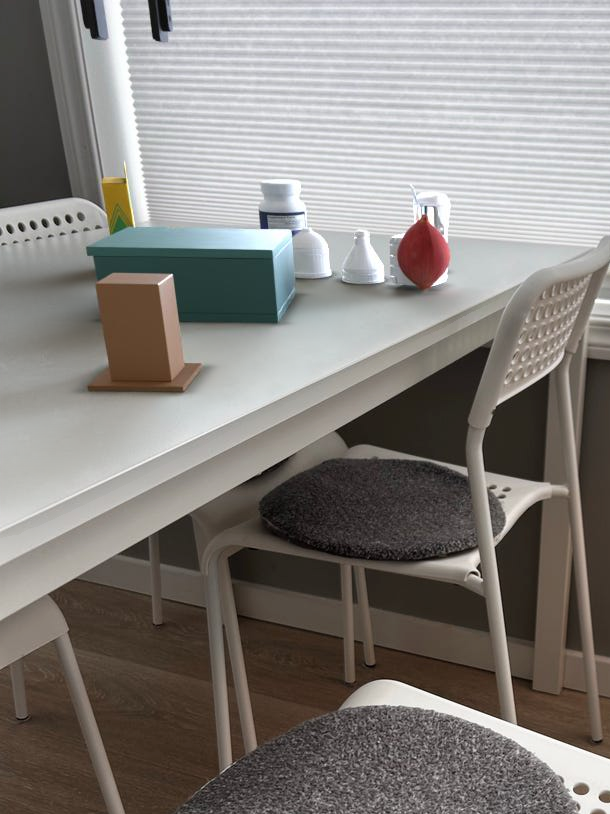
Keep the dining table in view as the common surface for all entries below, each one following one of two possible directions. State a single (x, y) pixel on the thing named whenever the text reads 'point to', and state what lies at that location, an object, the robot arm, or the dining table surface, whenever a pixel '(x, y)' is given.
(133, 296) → the carton
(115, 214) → the crayon box
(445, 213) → the milkshake
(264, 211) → the pill bottle
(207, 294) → the box
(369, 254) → the container set
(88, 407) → the dining table surface
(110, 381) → the mat
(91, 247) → the lunchbox lid
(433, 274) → the onion
